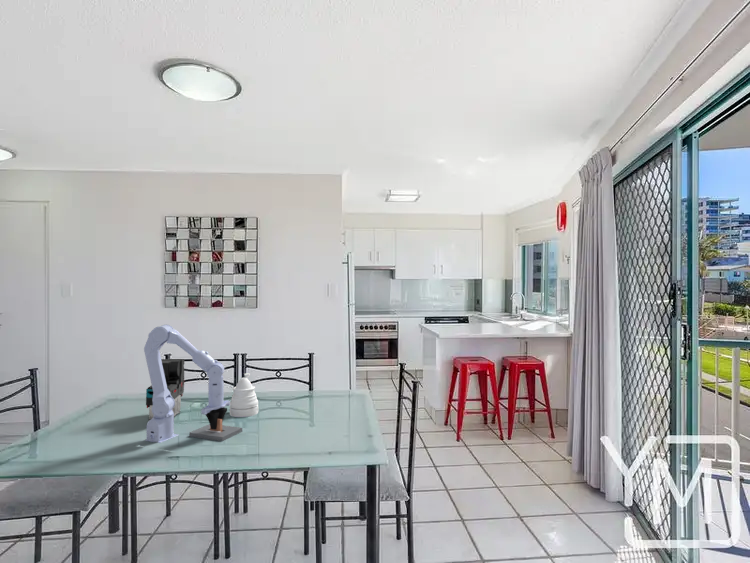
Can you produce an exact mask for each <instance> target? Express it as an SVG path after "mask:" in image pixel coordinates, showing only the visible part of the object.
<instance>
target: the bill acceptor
mask: <svg viewBox="0 0 750 563" xmlns="http://www.w3.org/2000/svg"><path fill="white" fill-rule="evenodd" d="M161 361H162V366H163V370H164V375H165V380H166V384H167V389H168V390H169V391H170V394H171V396H172V398H173V399H174V401H175V406H174V408H173V409H172V411H173V413H174V417H176V416H177V415H180V412H181V406H182V405H181V401H182V400H181V399H182V397H183V394H184V392H185V358H161ZM152 398H153V389H152V384H151V385H150V386H148V387H147V388H146V392H145V406H146V409H148V410H149V411H148V414H149V416H148V421H149V420H151V419H152V418H153V413H152V406H153V401H152Z"/></svg>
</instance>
